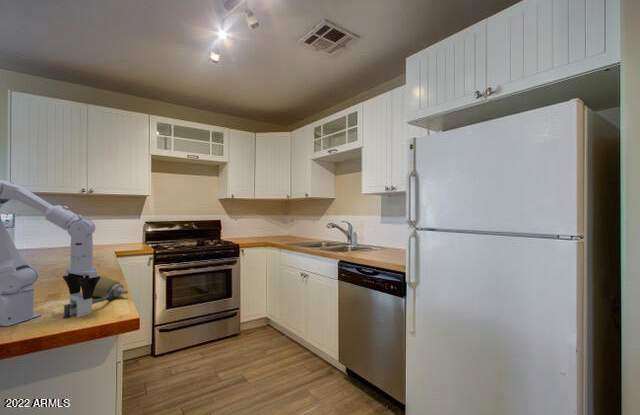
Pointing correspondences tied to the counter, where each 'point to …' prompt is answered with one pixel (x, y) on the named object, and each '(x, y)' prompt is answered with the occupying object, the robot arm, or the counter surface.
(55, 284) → the counter surface
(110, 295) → the grey lever handle
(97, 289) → the squeeze bottle
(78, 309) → the grey u-shaped block
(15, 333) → the counter surface
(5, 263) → the robot arm
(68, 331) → the counter surface
